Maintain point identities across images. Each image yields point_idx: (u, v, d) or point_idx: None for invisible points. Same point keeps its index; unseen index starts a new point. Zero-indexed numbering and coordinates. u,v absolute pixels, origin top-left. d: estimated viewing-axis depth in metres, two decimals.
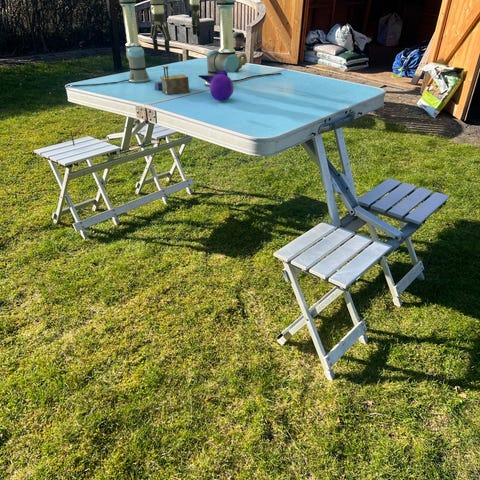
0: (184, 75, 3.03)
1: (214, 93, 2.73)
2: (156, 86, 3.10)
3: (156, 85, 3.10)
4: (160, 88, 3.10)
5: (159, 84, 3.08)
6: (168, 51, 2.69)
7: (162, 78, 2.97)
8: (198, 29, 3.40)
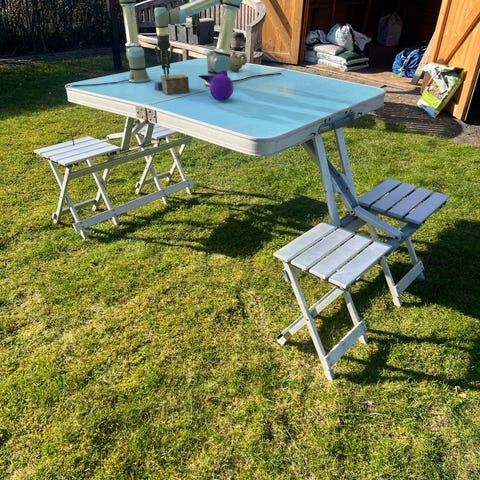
0: (184, 75, 3.03)
1: (214, 93, 2.73)
2: (156, 86, 3.10)
3: (156, 85, 3.10)
4: (160, 88, 3.10)
5: (159, 84, 3.08)
6: None
7: (162, 77, 2.97)
8: (198, 29, 3.40)
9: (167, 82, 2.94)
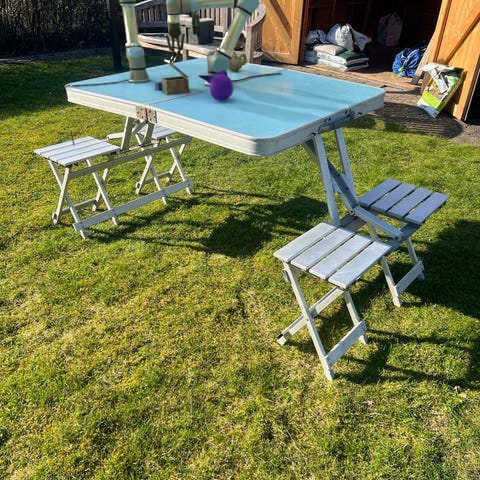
0: (185, 75, 3.03)
1: (214, 93, 2.73)
2: (156, 86, 3.10)
3: (156, 85, 3.10)
4: (160, 88, 3.10)
5: (159, 84, 3.08)
6: None
7: None
8: (198, 29, 3.40)
9: (167, 82, 2.94)
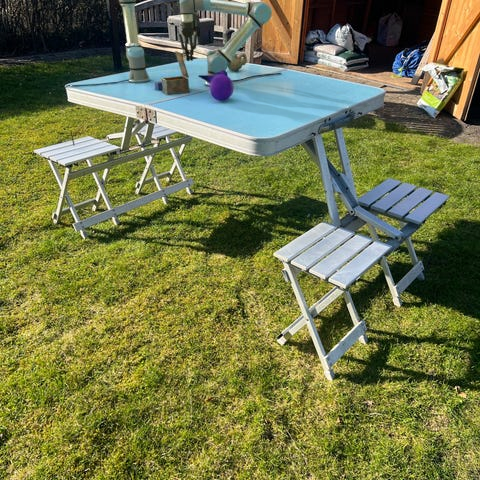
0: None
1: (214, 93, 2.73)
2: (156, 86, 3.10)
3: (156, 85, 3.10)
4: (160, 88, 3.10)
5: (159, 84, 3.08)
6: None
7: (178, 52, 2.94)
8: (198, 29, 3.40)
9: (167, 82, 2.94)
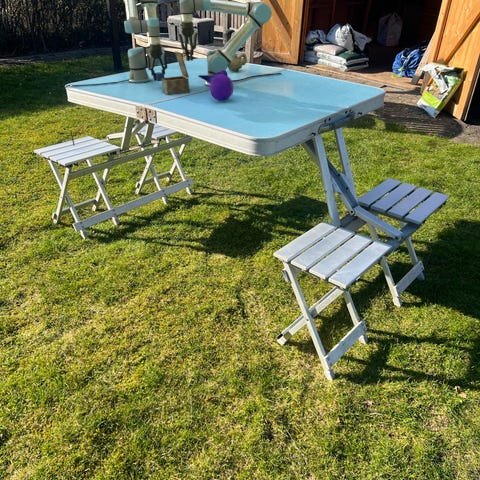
0: None
1: (214, 93, 2.73)
2: (155, 77, 3.07)
3: (155, 76, 3.07)
4: (159, 79, 3.07)
5: (158, 75, 3.06)
6: None
7: (178, 52, 2.94)
8: (151, 73, 3.06)
9: (167, 82, 2.94)
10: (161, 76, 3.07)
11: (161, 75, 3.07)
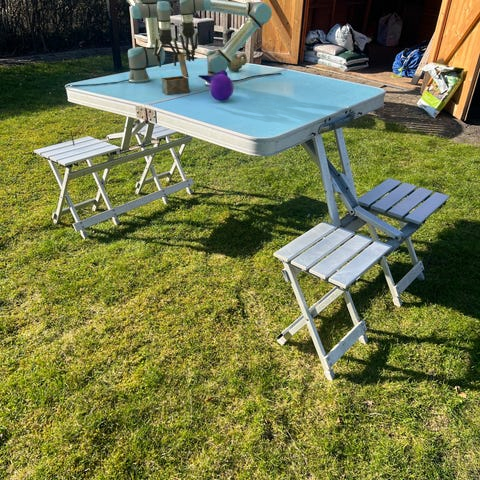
0: None
1: (214, 93, 2.73)
2: None
3: None
4: None
5: None
6: None
7: (179, 51, 2.94)
8: (157, 58, 2.90)
9: (167, 82, 2.94)
10: None
11: None
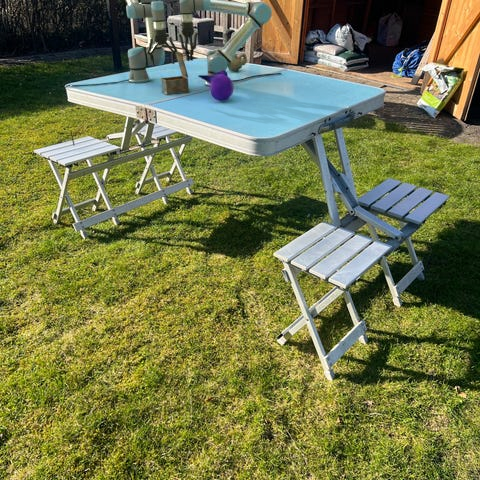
0: None
1: (214, 93, 2.73)
2: None
3: None
4: None
5: None
6: None
7: (178, 51, 2.94)
8: None
9: (167, 82, 2.94)
10: None
11: None
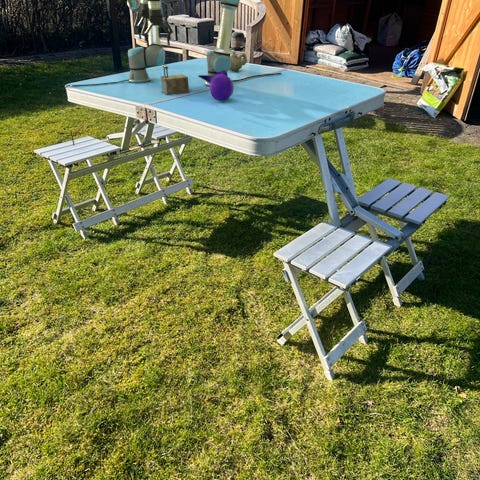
0: (184, 75, 3.03)
1: (214, 93, 2.73)
2: None
3: None
4: None
5: None
6: None
7: (162, 78, 2.98)
8: None
9: (167, 82, 2.94)
10: None
11: None
